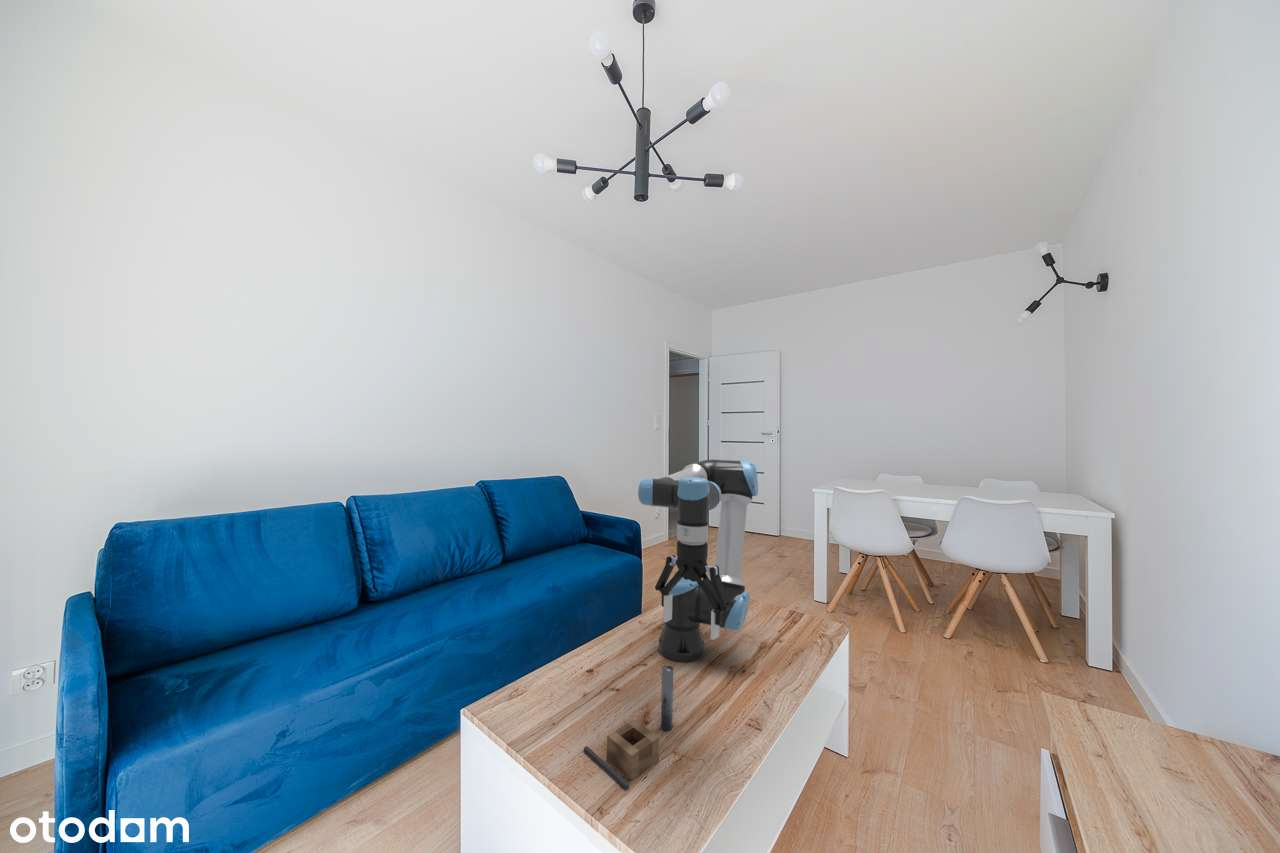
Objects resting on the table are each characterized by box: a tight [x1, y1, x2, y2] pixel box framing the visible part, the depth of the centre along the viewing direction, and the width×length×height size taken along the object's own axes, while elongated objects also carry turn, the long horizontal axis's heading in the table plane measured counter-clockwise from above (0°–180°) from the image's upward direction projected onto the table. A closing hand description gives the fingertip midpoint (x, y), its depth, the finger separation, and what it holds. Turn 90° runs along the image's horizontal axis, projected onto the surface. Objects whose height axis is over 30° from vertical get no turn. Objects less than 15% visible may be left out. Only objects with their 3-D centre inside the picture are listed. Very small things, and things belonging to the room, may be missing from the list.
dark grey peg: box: [660, 665, 674, 732], centre depth 104 cm, size 3×3×14 cm
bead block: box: [606, 718, 660, 781], centre depth 94 cm, size 8×8×5 cm
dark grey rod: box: [583, 745, 630, 791], centre depth 91 cm, size 14×1×1 cm, turn 44°
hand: (690, 628), depth 105 cm, fingers open, 13 cm apart
